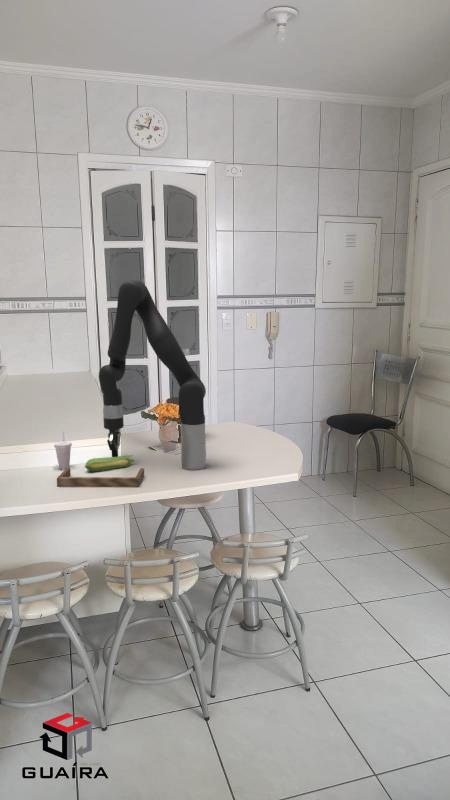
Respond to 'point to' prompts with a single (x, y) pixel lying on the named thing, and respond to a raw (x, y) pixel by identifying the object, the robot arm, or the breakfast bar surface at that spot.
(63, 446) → the smoothie
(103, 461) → the edible corn
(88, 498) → the breakfast bar surface
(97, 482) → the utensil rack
